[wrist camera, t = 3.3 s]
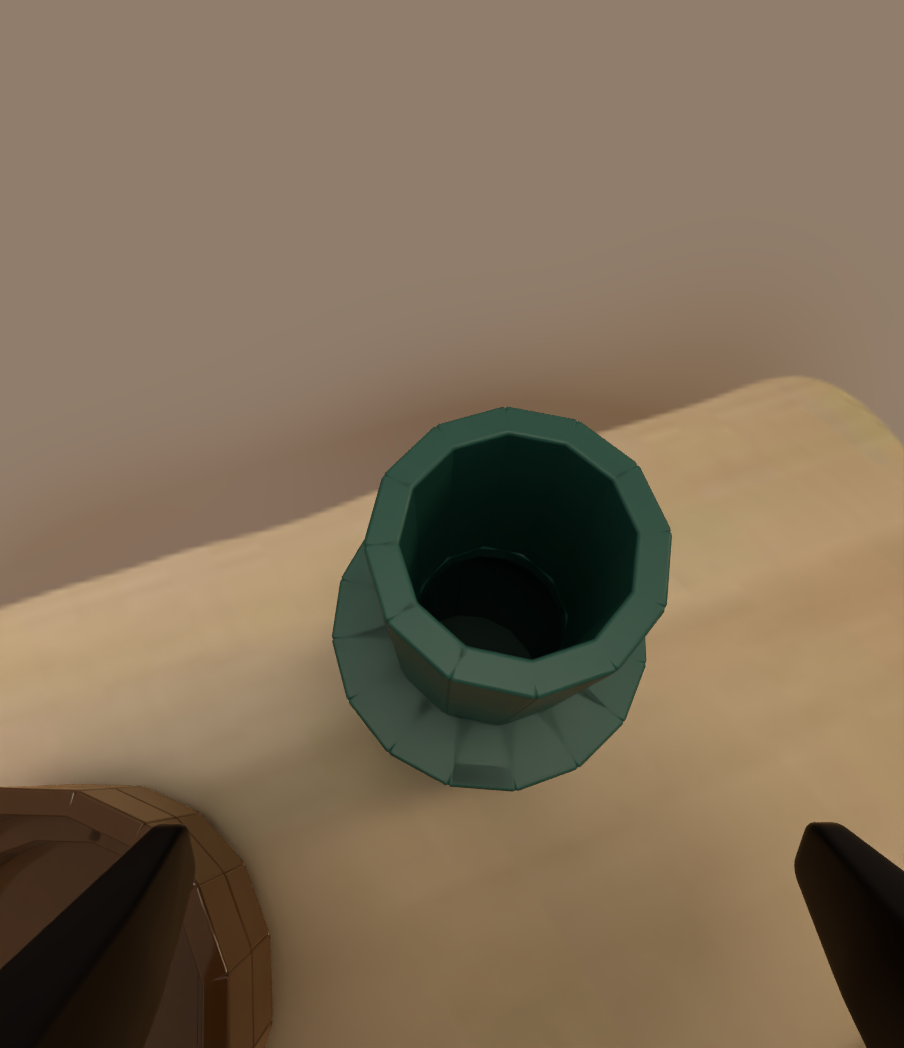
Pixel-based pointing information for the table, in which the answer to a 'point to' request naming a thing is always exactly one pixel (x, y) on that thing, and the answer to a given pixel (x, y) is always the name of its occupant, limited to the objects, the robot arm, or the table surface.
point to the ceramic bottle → (502, 599)
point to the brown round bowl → (210, 919)
